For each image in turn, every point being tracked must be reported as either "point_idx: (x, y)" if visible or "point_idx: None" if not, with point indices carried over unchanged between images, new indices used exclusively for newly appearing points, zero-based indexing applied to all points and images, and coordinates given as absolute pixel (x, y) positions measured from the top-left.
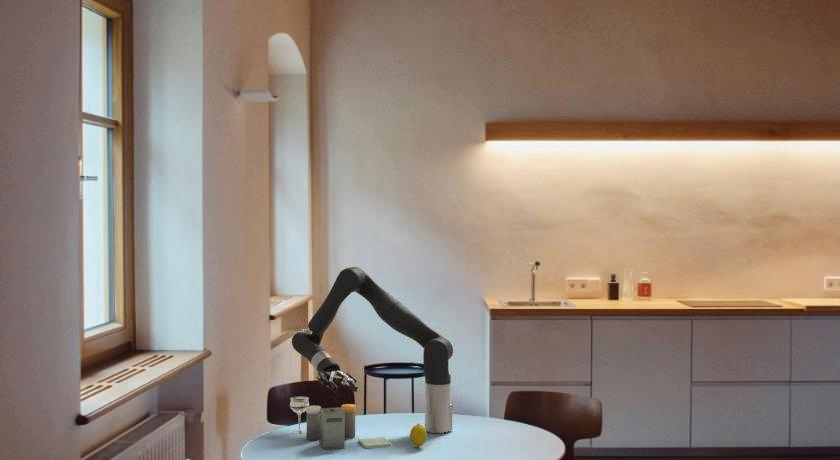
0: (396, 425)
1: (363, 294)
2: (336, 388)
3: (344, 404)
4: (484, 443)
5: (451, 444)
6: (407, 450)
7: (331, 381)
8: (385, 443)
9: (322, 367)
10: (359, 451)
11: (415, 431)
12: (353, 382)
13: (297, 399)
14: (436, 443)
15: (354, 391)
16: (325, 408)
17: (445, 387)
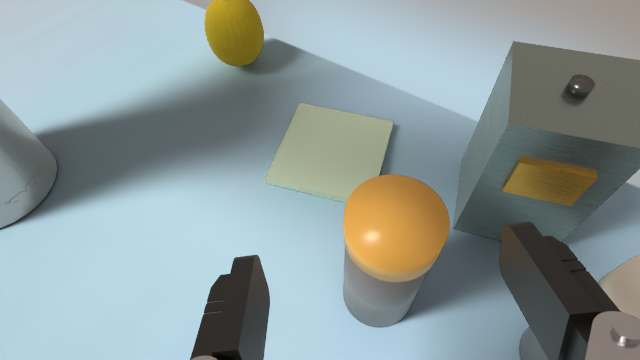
0: None
1: None
2: (525, 222)
3: (408, 261)
4: (66, 26)
5: (139, 52)
6: (287, 60)
7: (608, 311)
8: (314, 113)
9: None
10: (426, 110)
11: (253, 6)
12: (223, 330)
13: None
14: (162, 74)
15: (267, 297)
16: (613, 138)
17: None
